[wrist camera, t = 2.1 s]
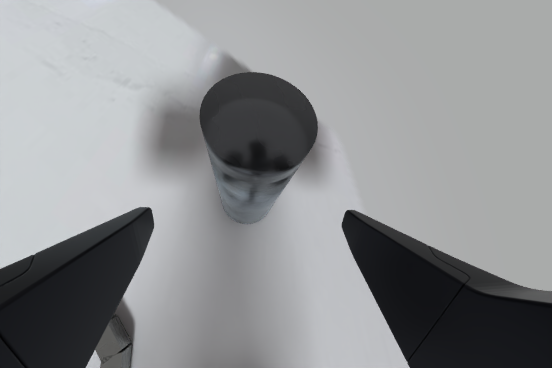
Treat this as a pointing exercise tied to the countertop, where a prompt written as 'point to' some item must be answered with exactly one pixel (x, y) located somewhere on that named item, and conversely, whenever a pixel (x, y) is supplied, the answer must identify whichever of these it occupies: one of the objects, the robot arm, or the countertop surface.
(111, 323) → the ring
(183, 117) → the countertop surface
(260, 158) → the dark grey metallic cylinder
